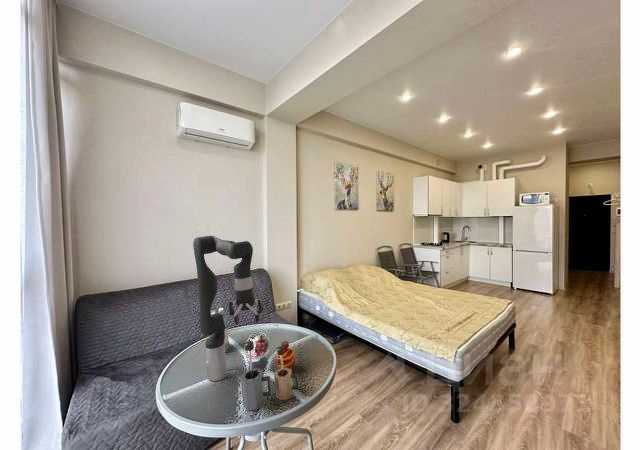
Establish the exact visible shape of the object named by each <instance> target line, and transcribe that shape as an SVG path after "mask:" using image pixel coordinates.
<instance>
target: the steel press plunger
mask: <svg viewBox="0 0 640 450" xmlns="http://www.w3.org/2000/svg"><path fill="white" fill-rule="evenodd" d="M254 349H255V345H254V341H253V340H247V341H245V342H244V350H245V351H246V352H248V358H249V361H248V362H249V369H250V371H251V379H254V377H253V369H254V367H253V359H252V350H254Z"/></svg>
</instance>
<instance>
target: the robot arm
mask: <svg viewBox="0 0 640 450" xmlns="http://www.w3.org/2000/svg"><path fill="white" fill-rule="evenodd" d="M192 247H193V254H194V258H195V265H196V266H195V267H196V274H197V275H196V276H197V291H198V300H199V301H198V302H199V329H200V332H201V334H202V335H203V336H205V337H208V336H209V337H208V338H207V339H206V340H205V351H206V362H205V366H206V367H205V368H206V375H207V376H206V378H207V380H208V379H210V380H209V381H211V380H212V381H211V382H218V381H221V380H223V379H225V378H226V377H227V376H228V363H227V355H226V354H227V352H226V353H225V343H224V339H225V328H224V319H223V317H222V315H221V314H220V313H214V314H212V315H211V311H212V305H213V304H214V301H215V299H216V297H217V294H218V289H219V287H218V278H217V276H216V274H215V273H214V272H213V270H212V269H211V268H210V267H209V266H208V264H207V262H206V259H205V255H209V254H213V253H216V252H217V253H218V254H220V255H222V256H226V257H228V258H229V259H230V260H239V259H240V262H238V263H236V264H235V265H233V276H234V292H235V300H233V299H231V300H230V301H229V303H228V313H229V314H228V315H229V316H233V318H234V319H233V321H234V324H235V325H239V324H240V317H239V316H240V315H239V313H240V311H242V312H244V311H251V312H253V314H255V315H254V320H255V324H258V323H259V322H260V314H262V313H263V311H264V307H263V302H262V298H261V297H259V298H255V296H254V284H253V279H252V272H251V271H252V270H251V269H252V268H251V264H252V261H253V260H252V258H253V255H254V254H253V253H254V248H253V245H252V243H251V242H250V241H248V240H244V241H238V242H237V241H233V240H224V239H221V238H218V237H217V236H214V235H204V236H197V237H194V239H193V243H192ZM255 304H256V305H257V306H256V305H255ZM235 306H237V309H236V310H235V309H234V307H235ZM257 307H258V308H257ZM226 375H227V376H226ZM224 377H225V378H224Z"/></svg>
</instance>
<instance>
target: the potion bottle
mask: <svg viewBox="0 0 640 450" xmlns="http://www.w3.org/2000/svg"><path fill="white" fill-rule="evenodd" d="M280 343H281V344H280V346H284V349H285V353H284V354H283V355H282V358H283V368H288V369H290V370H291V371H292V372H293V368H292V367H293V366H294V365H295V363H296V353H295V351H294V349H291V348H289V347H290V344H289V341H287V340H285V341H284V340H283V341H281V342H280ZM276 363H277V367H278V368H279V369H281V358H280V355H278V354H277V353H276Z"/></svg>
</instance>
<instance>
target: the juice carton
mask: <svg viewBox="0 0 640 450" xmlns="http://www.w3.org/2000/svg"><path fill="white" fill-rule="evenodd" d="M214 313H220V314H221V315H222V317H223V319H224V328H225V339H224V343H225V352H226V353H229V350H230V342H229V341H230V340H229V333H228V330H229V329H228V322H227V315H226V312H225V308H223V307H220V308H217V309H214V310H210V315H212V314H214Z"/></svg>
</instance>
